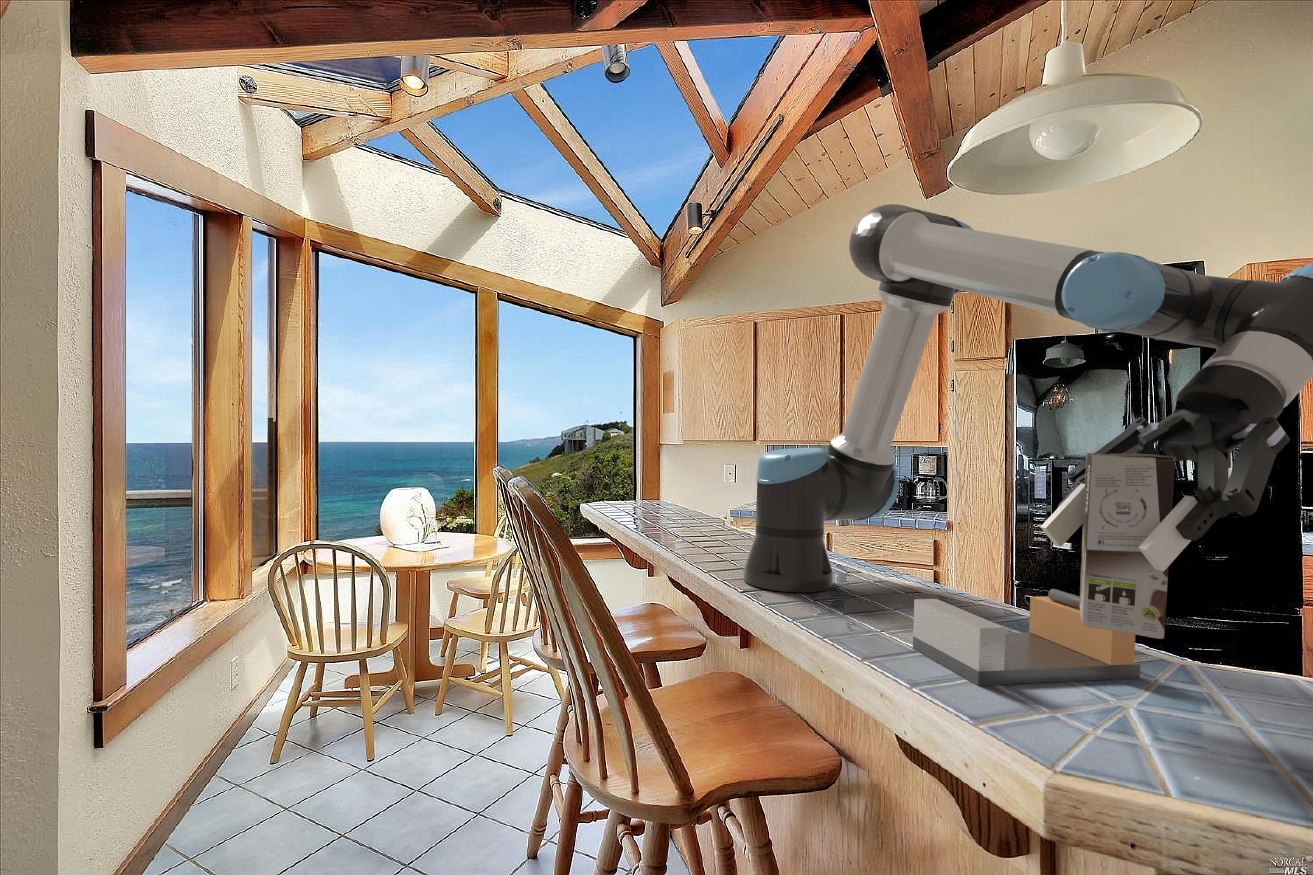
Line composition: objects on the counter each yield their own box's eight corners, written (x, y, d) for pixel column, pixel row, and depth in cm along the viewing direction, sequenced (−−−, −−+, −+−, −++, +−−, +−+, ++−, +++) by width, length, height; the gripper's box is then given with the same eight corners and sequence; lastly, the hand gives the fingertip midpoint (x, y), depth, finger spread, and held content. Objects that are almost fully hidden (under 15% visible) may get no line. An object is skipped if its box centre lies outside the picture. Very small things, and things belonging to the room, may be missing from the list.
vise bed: (912, 648, 81) (914, 599, 81) (1054, 643, 84) (1056, 596, 84) (978, 685, 69) (980, 628, 69) (1139, 678, 73) (1141, 623, 73)
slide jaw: (1029, 632, 84) (1030, 585, 84) (1049, 631, 84) (1051, 584, 84) (1110, 665, 72) (1112, 610, 72) (1134, 664, 72) (1136, 610, 72)
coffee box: (1167, 641, 57) (1177, 456, 57) (1080, 627, 61) (1089, 452, 60) (1154, 616, 65) (1163, 453, 65) (1077, 605, 69) (1085, 450, 68)
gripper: (1412, 417, 54) (1247, 609, 52) (1153, 417, 77) (1029, 551, 74) (1366, 348, 53) (1194, 541, 51) (1117, 369, 76) (989, 503, 73)
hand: (1096, 547), depth 62 cm, fingers closed on coffee box, 10 cm apart
